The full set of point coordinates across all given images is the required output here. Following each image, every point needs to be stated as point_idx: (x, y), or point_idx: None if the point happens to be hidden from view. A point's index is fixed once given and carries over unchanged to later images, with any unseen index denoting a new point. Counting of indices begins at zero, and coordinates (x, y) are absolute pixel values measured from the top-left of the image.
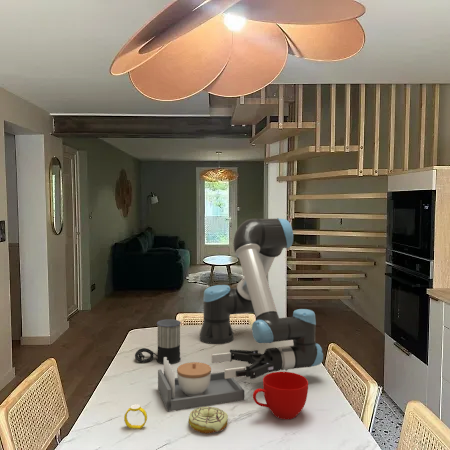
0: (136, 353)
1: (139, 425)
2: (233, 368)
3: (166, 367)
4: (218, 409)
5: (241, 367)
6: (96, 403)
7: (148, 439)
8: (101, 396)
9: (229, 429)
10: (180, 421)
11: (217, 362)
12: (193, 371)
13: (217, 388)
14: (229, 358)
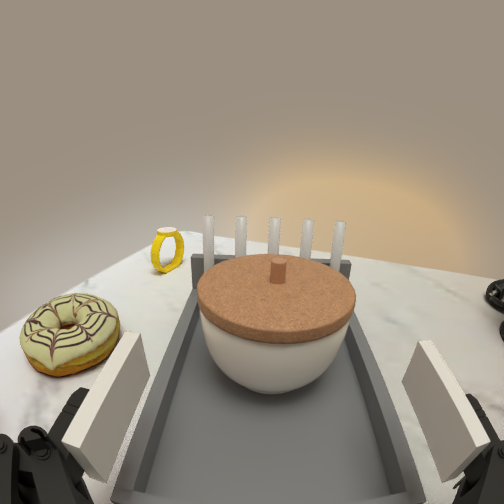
0: (502, 280)
1: (168, 269)
2: (112, 374)
3: (302, 239)
4: (57, 340)
5: (85, 423)
6: (290, 249)
7: (119, 272)
8: (317, 254)
9: (22, 365)
10: (134, 314)
11: (412, 405)
12: (236, 272)
13: (278, 449)
14: (449, 463)
